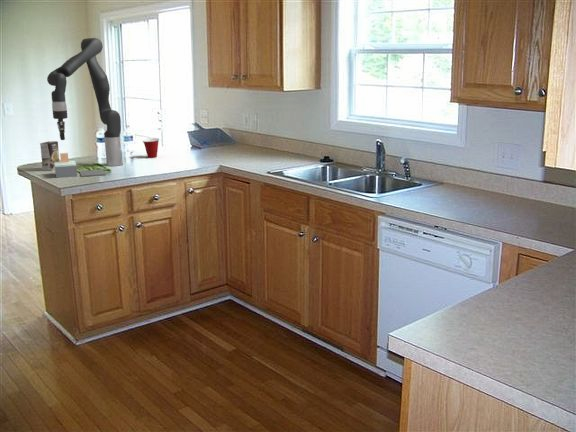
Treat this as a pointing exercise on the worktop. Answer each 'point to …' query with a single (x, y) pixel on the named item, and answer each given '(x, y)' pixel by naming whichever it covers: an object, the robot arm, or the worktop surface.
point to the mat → (92, 173)
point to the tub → (66, 171)
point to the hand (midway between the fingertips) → (62, 139)
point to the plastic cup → (151, 147)
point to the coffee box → (49, 155)
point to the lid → (64, 161)
